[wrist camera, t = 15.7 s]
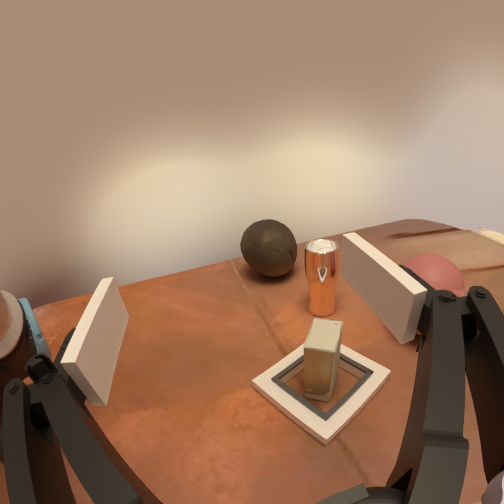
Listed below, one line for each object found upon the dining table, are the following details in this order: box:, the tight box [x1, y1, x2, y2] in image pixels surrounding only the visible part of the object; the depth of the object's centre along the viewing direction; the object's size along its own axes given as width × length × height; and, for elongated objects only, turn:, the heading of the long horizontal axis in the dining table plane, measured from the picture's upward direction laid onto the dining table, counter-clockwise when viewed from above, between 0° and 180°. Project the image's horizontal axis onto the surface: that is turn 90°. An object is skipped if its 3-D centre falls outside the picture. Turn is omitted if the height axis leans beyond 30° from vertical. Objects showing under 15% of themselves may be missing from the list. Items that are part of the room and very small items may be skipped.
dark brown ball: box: [240, 220, 297, 277], centre depth 72 cm, size 14×14×15 cm
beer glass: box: [305, 239, 339, 317], centre depth 56 cm, size 7×7×15 cm
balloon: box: [404, 254, 467, 335], centre depth 42 cm, size 15×20×15 cm
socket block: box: [252, 343, 391, 445], centre depth 40 cm, size 16×16×2 cm
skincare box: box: [304, 318, 343, 402], centre depth 38 cm, size 6×4×12 cm
